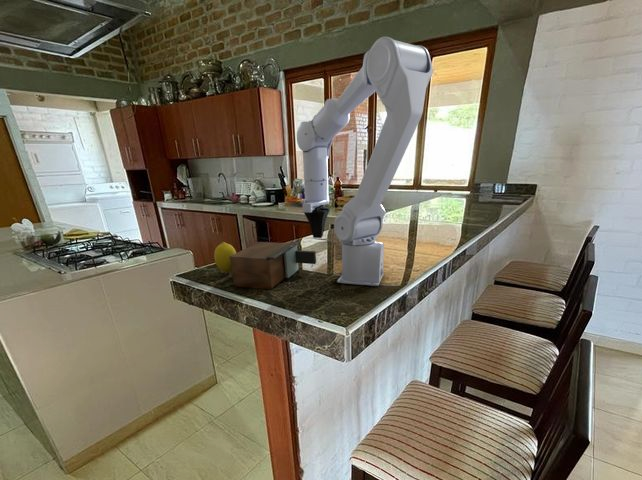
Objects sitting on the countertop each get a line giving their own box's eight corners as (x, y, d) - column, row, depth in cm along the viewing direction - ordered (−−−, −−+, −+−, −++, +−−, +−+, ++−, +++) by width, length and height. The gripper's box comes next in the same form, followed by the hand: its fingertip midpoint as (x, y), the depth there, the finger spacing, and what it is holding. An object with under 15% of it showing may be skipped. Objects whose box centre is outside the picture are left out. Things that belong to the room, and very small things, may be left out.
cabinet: (300, 270, 86) (298, 242, 82) (277, 290, 74) (274, 257, 70) (262, 268, 89) (259, 240, 85) (234, 286, 77) (229, 254, 73)
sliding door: (317, 270, 84) (316, 245, 81) (307, 280, 78) (306, 253, 75) (296, 269, 86) (295, 244, 83) (285, 278, 80) (283, 251, 77)
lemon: (242, 269, 88) (238, 239, 84) (235, 276, 83) (230, 244, 79) (222, 269, 88) (216, 239, 85) (213, 276, 83) (208, 244, 80)
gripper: (310, 178, 87) (312, 231, 93) (288, 182, 75) (292, 243, 81) (336, 178, 85) (336, 231, 91) (318, 182, 73) (320, 244, 79)
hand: (317, 237), depth 86 cm, fingers closed
